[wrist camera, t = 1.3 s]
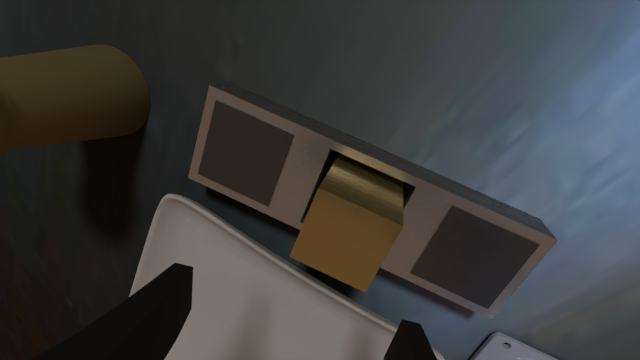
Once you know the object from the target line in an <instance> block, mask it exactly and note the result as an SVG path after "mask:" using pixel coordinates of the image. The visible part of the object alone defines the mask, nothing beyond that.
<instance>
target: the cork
mask: <svg viewBox="0 0 640 360" xmlns="http://www.w3.org/2000/svg"><path fill="white" fill-rule="evenodd" d="M149 109H150V96H149V88H148V86H147V83H146V81H145V78H144V75H143V74H142V72H141V71H140V69H139V68H138V66H137V65H136V63H135V62H134V61H133V60H132V59H131V58H130V57H129V56H127V55H126V54H125V53H124V52H123V51H121V50H119V49H116V48H114V47H112V46H110V45H98V44H97V45H90V46H83V47H76V48H68V49H61V50H54V51H47V52H40V53H32V54H25V55H18V56H11V57H4V58H0V158H1V157H2V156H3V155H4V154H5V153H6V152H7V150H9V149H17V148H26V147H34V146H43V145H51V144H59V143H68V142H76V141H85V140H93V139H102V138H110V137H119V136H125V135H129V134H133V133H135V132H136V131H138V130H139V129H140V128H142V127H143V125H144V123H145V121H146V120H147V118H148V115H149Z"/></svg>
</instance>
